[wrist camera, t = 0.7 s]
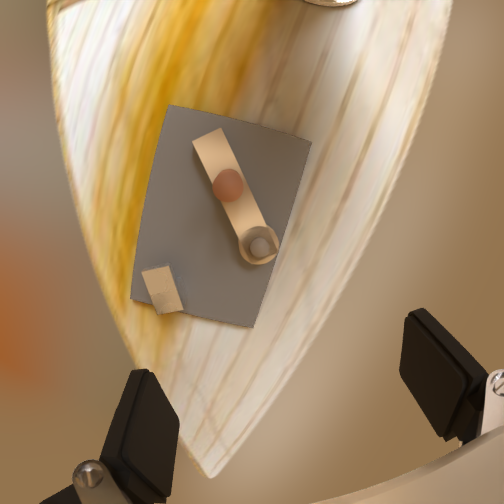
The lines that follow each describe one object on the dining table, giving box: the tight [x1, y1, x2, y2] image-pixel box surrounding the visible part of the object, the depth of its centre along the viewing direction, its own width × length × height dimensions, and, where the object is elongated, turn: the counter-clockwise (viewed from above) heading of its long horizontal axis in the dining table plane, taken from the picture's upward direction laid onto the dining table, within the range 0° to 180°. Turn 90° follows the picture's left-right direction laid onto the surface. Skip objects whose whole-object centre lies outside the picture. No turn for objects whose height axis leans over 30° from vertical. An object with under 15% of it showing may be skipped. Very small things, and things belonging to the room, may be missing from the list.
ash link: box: [192, 128, 279, 264], centre depth 27 cm, size 14×4×7 cm, turn 24°
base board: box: [130, 105, 312, 328], centre depth 31 cm, size 22×15×2 cm
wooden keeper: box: [141, 262, 187, 315], centre depth 31 cm, size 3×5×3 cm, turn 12°
